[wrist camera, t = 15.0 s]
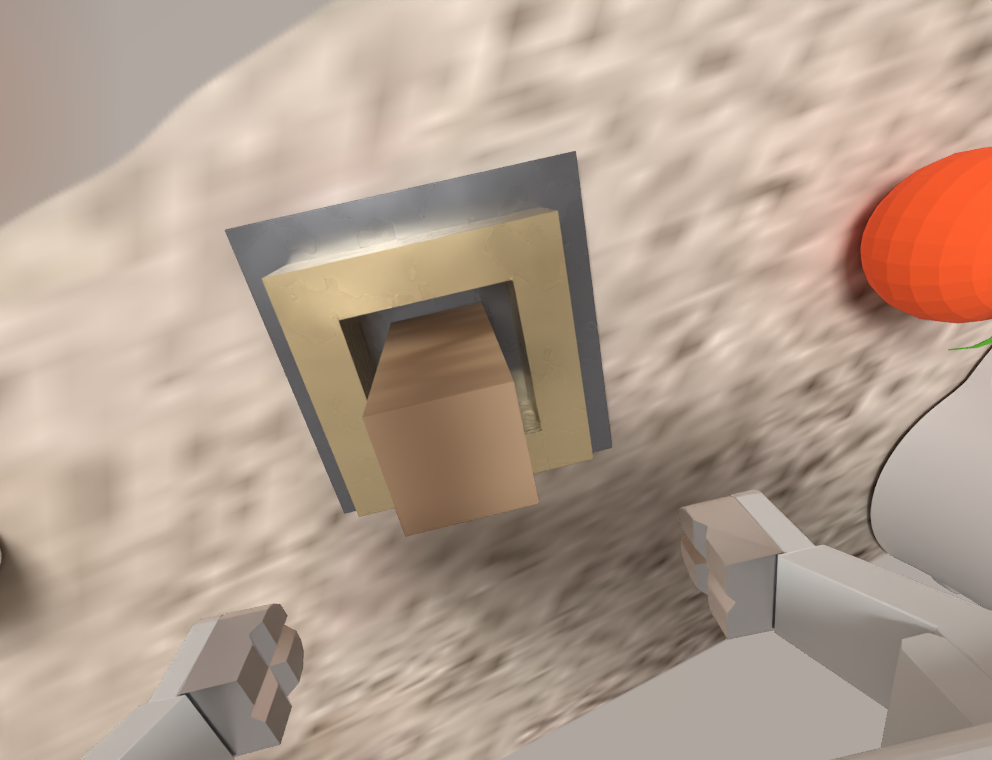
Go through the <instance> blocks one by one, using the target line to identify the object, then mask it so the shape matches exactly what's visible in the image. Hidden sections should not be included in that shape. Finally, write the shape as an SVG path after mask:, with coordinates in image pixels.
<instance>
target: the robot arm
mask: <svg viewBox="0 0 992 760" xmlns="http://www.w3.org/2000/svg"><path fill="white" fill-rule="evenodd" d="M678 515H679V524H680V526H681V527H682V529H683V530H684V532H685V534H684V536H683V537H682V539H681V540H680V544H681V553H682V557H683V560H684V563H685V567H686V569H687V571H688V574H689V576H690V578H691V580H692V581H693V583H694V585H695V587H696V588H697V589H698V590H700V591H702V592H703V593H705V594H707V595H708V606H709V610H710V611H711V613H712V615H713V616H714V618H715V620H716V621H717V623H718V624H719V626H720V628H721V629H722V631H723V633H724V634H725V636H726V637H727V639H732V638H737V637H742V636H747V635H752V634H757V633H762V632H767V631H771V630H775V633H776V634H778V635H779V636H781V637H782V638H784V639H785V640H786V641H788V642H789V643H791V644H792V645H794V646H795V647H797V648H798V649H800V650H801V651H803V652H804V653H806V654H807V655H809V656H810V657H811V658H813V659H815V660H816V661H817V662H819V663H820V664H822V665H823V666H825V667H826V668H828V669H829V670H831V671H832V672H834V673H835V674H837V675H838V676H840V677H841V678H842V679H844V680H845V681H847V682H848V683H850V684H851V685H853V686H854V687H856V688H857V689H859V690H860V691H862V692H863V693H865V694H866V695H868V696H869V697H871V698H872V699H873V700H875V701H876V702H878V703H879V704H881V705H882V706H884V707H885V708H887V709H888V712H887V718H886V723H885V728H884V734H883V738H882V743H881V748H878V749H874V750H870V751H866V752H861V753H857V754H853V755H849V756H845V757H840V758H836V759H832V760H992V349H991V350H990V351H989V353H988V354H987V355H986V356H985V357H984V359H983V360H982V361H981V363H980V364H979V365H978V366H977V368H976V369H975V370H974V372H973V373H972V374H971V376H970V377H969V378H968V380H967V381H966V382H965V383H964V384H963V385H961V386H960V387H959V388H958V389H957V390H956V391H955V392H953V393H952V394H951V395H949V396H948V397H947V398H946V399H944V400H943V401H942V402H941V403H939V404H938V405H937V406H935V407H934V408H933V409H932V410H931V411H930V412H928V413H927V414H926V415H925V416H924V417H923V418H922V419H921V420H920V421H919V422H918V423H917V424H916V425H915V426H914V427H913V428H912V429H911V430H910V431H909V432H908V434H907V435H906V436H905V437H904V438H903V440H902V441H901V442H900V443H899V445H898V446H897V447H896V449H895V450H894V452H893V453H892V455H891V456H890V458H889V459H888V461H887V463H886V465H885V466H884V468H883V470H882V473H881V475H880V477H879V479H878V482H877V484H876V487H875V491H874V494H873V499H872V504H871V524H872V529H873V532H874V535H875V537H876V539H877V541H878V543H879V544H880V545H881V547H882V548H883V549H884V550H885V551H886V552H887V553H889V554H890V555H892V556H893V557H895V558H897V559H899V560H901V561H903V562H905V563H907V564H909V565H911V566H913V567H915V568H917V569H919V570H921V571H923V572H925V573H927V574H928V575H930V576H931V577H932V578H933V579H934V580H935V581H936V582H937V583H939V584H940V585H942V586H944V587H945V588H947V589H948V590H950V591H951V592H953V593H956V594H962V595H964V596H966V597H967V598H969V599H971V600H972V601H974V602H975V603H977V604H978V605H980V606H982V607H980V606H978V605H975V604H972V603H970V602H967V601H965V600H963V599H960V598H958V597H955V596H952V595H950V594H947V593H945V592H942V591H940V590H937V589H935V588H932V587H930V586H927V585H925V584H922V583H920V582H917V581H914V580H912V579H910V578H907V577H904V576H902V575H900V574H897V573H894V572H892V571H889V570H887V569H884V568H882V567H879V566H877V565H874V564H872V563H869V562H867V561H864V560H862V559H859V558H857V557H854V556H852V555H849V554H847V553H844V552H842V551H839V550H836V549H834V548H831V547H829V546H826V545H819V546H815V545H814V544H813V543H812V542H811V541H810V540H809V539H808V538H807V537H806V536H805V535H804V534H803V533H802V532H801V531H800V530H799V529H798V528H797V527H796V526H795V525H794V524H793V523H792V522H791V521H790V520H789V519H788V518H787V517H786V516H785V515H784V514H783V513H782V512H781V511H779V510H778V509H777V508H776V507H775V506H774V505H773V504H772V503H771V502H770V501H769V500H768V499H767V498H766V497H765V496H764V495H763V494H762V493H761V492H760V491H758V490H756V489H752V490H748V491H744V492H740V493H736V494H732V495H729V496H725V497H721V498H717V499H713V500H709V501H705V502H701V503H696V504H692V505H688V506H684V507H680V509H679V513H678ZM287 616H288V615H287V614H286V612H285V611H284V609H283V608H282V606H281V604H269V605H264V606H259V607H255V608H250V609H245V610H240V611H235V612H231V613H226V614H224V615H219V616H214V617H209V618H204V619H201V620H200V621H198V622H197V623H196V624H194V625H193V627H192V628H191V630H190V632H189V633H188V635H187V637H186V639H185V640H184V642H183V644H182V645H181V647H180V649H179V651H178V652H177V654H176V656H175V658H174V659H173V661H172V663H171V664H170V666H169V668H168V670H167V671H166V673H165V675H164V676H163V678H162V680H161V682H160V683H159V685H158V687H157V689H156V690H155V692H154V694H153V695H152V697H151V699H150V701H149V702H148V703H147V704H143V705H139V706H138V707H137V708H136V709H135V710H134V711H133V712H132V713H131V714H130V715H128V716H127V717H126V718H125V719H124V720H123V721H122V722H121V723H120V724H119V725H117V726H116V727H115V728H114V729H113V730H112V731H111V732H110V733H109V734H108V735H106V736H105V737H104V738H103V739H102V740H101V741H100V742H99V743H98V744H97V745H96V746H94V747H93V748H92V749H91V750H90V751H89V752H88V753H87V754H86V755H85V756H83V757H82V758H81V759H80V760H235V759H234V757H236V756H239V755H243V754H247V753H251V752H254V751H258V750H262V749H266V748H269V747H273V746H277V745H280V744H281V741H282V737H283V734H284V731H285V728H286V724H287V721H288V718H289V714H290V711H291V708H292V705H291V703H290V701H289V698H288V695H289V694H290V693H291V692H292V690H293V689H294V688H295V687H296V686H297V684H298V683H299V681H300V677H301V674H302V670H303V659H304V650H303V646H302V642H301V639H300V637H299V635H298V633H297V631H295V630H293V629H292V628H290V627H288V626H286V625H284V624H285V622H286V619H287Z"/></svg>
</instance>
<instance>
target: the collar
mask: <svg viewBox="0 0 992 760" xmlns="http://www.w3.org/2000/svg"><path fill="white" fill-rule="evenodd" d="M225 232H226V234H227V237H228V239H229V242H230V244H231V246H232V249H233V251H234V253H235V256H236V258H237V260H238V263H239V265H240V268H241V270H242V272H243V275H244V277H245V279H246V282H247V284H248V286H249V289H250V291H251V294H252V296H253V298H254V301H255V303H256V305H257V308H258V310H259V313H260V315H261V317H262V320H263V322H264V324H265V327H266V329H267V331H268V334H269V336H270V339H271V341H272V343H273V346H274V348H275V350H276V353H277V355H278V357H279V360H280V362H281V365H282V367H283V369H284V372H285V374H286V376H287V379H288V381H289V384H290V386H291V388H292V391H293V393H294V395H295V398H296V400H297V402H298V405H299V407H300V410H301V412H302V414H303V417H304V419H305V421H306V424H307V426H308V428H309V431H310V433H311V436H312V438H313V440H314V443H315V445H316V447H317V450H318V452H319V454H320V457H321V459H322V462H323V464H324V466H325V469H326V471H327V473H328V476H329V478H330V481H331V483H332V485H333V488H334V490H335V492H336V495H337V497H338V499H339V502H340V504H341V507H342V509H343V511H344V514H345V513H349V512H353V511H357V513H358V516H359V517H360V516H364V515H368V514H372V513H376V512H380V511H384V510H388V509H392V508H395V507H394V504H393V501H392V498H391V496H390V493H389V490H388V487H387V485H386V482H385V479H384V476H383V474H382V471H381V468H380V465H379V463H378V460H377V457H376V454H375V452H374V449H373V446H372V443H371V441H370V438H369V435H368V432H367V430H366V427H365V424H364V421H363V419H362V416H363V413H364V410H365V407H366V403H367V400H368V397H369V394H370V390H371V387H372V384H373V380H374V377H375V374H376V371H377V367H378V364H379V361H380V358H381V354H382V351H383V348H384V344H385V341H386V338H387V335H388V331H389V328H390V325H391V323H392V322H396V321H401V320H405V319H409V318H413V317H418V316H422V315H426V314H431V313H435V312H439V311H444V310H448V309H452V308H456V307H461V306H465V305H469V304H474V303H478V302H482V305H483V307H484V309H485V312H486V314H487V317H488V319H489V322H490V324H491V327H492V329H493V331H494V334H495V336H496V339H497V341H498V344H499V346H500V349H501V351H502V353H503V356H504V358H505V361H506V363H507V366H508V368H509V371H510V373H511V375H512V378H513V380H514V384H515V389H516V394H517V399H518V404H519V408H520V413H521V418H522V423H523V428H524V433H525V437H526V442H527V447H528V452H529V457H530V462H531V466H532V471H533V474H534V473H538V472H542V471H546V470H550V469H554V468H558V467H562V466H566V465H570V464H574V463H578V462H582V461H587V460H591V459H593V453H592V452H596V451H600V450H604V449H608V448H612V443H611V435H610V427H609V419H608V411H607V402H606V394H605V386H604V378H603V370H602V362H601V353H600V345H599V337H598V329H597V321H596V313H595V304H594V296H593V288H592V280H591V272H590V264H589V255H588V247H587V239H586V231H585V223H584V214H583V206H582V198H581V190H580V182H579V174H578V165H577V157H576V151H573V152H569V153H564V154H560V155H556V156H551V157H547V158H542V159H538V160H533V161H529V162H524V163H520V164H516V165H511V166H507V167H502V168H498V169H493V170H489V171H484V172H480V173H475V174H471V175H467V176H462V177H458V178H453V179H449V180H444V181H440V182H435V183H431V184H427V185H422V186H418V187H413V188H409V189H404V190H400V191H395V192H391V193H386V194H382V195H378V196H373V197H369V198H364V199H360V200H355V201H351V202H346V203H342V204H338V205H333V206H329V207H324V208H320V209H315V210H311V211H306V212H302V213H298V214H293V215H289V216H284V217H280V218H275V219H271V220H266V221H262V222H257V223H253V224H249V225H244V226H240V227H235V228H231V229H226V230H225Z"/></svg>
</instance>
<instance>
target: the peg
mask: <svg viewBox="0 0 992 760" xmlns="http://www.w3.org/2000/svg"><path fill="white" fill-rule="evenodd" d="M362 419H363V421H364V424H365V427H366V430H367V432H368V435H369V438H370V441H371V443H372V446H373V449H374V452H375V454H376V457H377V460H378V463H379V465H380V468H381V471H382V474H383V476H384V479H385V482H386V485H387V487H388V490H389V493H390V496H391V498H392V501H393V504H394V507H395V509H396V512H397V515H398V517H399V520H400V523H401V526H402V528H403V531H404V534H405V537H406V536H410V535H414V534H418V533H422V532H426V531H430V530H434V529H438V528H442V527H446V526H450V525H454V524H458V523H462V522H466V521H470V520H474V519H478V518H482V517H486V516H490V515H494V514H498V513H503V512H507V511H511V510H515V509H519V508H523V507H527V506H531V505H535V504H539V500H538V495H537V491H536V486H535V481H534V476H533V471H532V466H531V462H530V457H529V452H528V447H527V442H526V437H525V433H524V428H523V423H522V418H521V413H520V408H519V404H518V399H517V394H516V389H515V384H514V380H513V378H512V375H511V373H510V371H509V368H508V366H507V363H506V361H505V358H504V356H503V353H502V351H501V349H500V346H499V344H498V341H497V339H496V336H495V334H494V331H493V329H492V327H491V324H490V322H489V319H488V317H487V314H486V312H485V309H484V307H483V305H482V302H478V303H474V304H469V305H465V306H461V307H456V308H452V309H448V310H444V311H439V312H435V313H431V314H426V315H422V316H418V317H413V318H409V319H405V320H401V321H396V322H392V323H391V325H390V328H389V331H388V335H387V338H386V341H385V344H384V348H383V351H382V354H381V358H380V361H379V364H378V367H377V371H376V374H375V377H374V380H373V384H372V387H371V390H370V394H369V397H368V400H367V403H366V407H365V410H364V413H363V416H362Z"/></svg>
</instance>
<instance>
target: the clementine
mask: <svg viewBox="0 0 992 760" xmlns="http://www.w3.org/2000/svg"><path fill="white" fill-rule="evenodd" d="M860 249H861V262H862V266H863V271H864V273H865V276H866V278H867V281H868V283H869V285H870V286H871V287H872V288H873V289H874V290H875V291H876V292H877V293H878V294H879V295H880V296H881V297H882V298H883V299H884V300H885V301H886V303H887V304H889V305H891V306H893V307H895V308H897V309H899V310H901V311H903V312H905V313H908V314H910V315H912V316H914V317H917V318H919V319H926V320H933V321H941V322H950V323H966V322H975V321H984V320H989V319H992V147H987V148H980V149H975V150H970V151H964V152H959V153H955V154H952V155H950V156H948V157H945V158H943V159H941V160H939V161H936V162H934V163H932V164H930V165H928V166H926V167H924V168H921V169H919V170H917V171H915V172H914V173H913V174H911V175H910V176H909V177H907V178H906V179H904V180H903V181H902V182H900V183H899V184H898V185H897V186H896V187H895V188H894V189H893V190H892V191H891V192H890V193H889V194H888V195H887V196H886V197H885V198H884V199H883V200H882V201H881V202H880V203H879V204H878V206H877V207H876V209H875V210H874V212H873V214H872V215H871V217H870V218H869V220H868V223H867V225H866V228H865V230H864V233H863V236H862V242H861V248H860ZM990 343H992V337H990V338H989V339H987V340H985V341H983V342H981V343H979V344H977V345H974V346H972V347H965V348H956V349H948V350H958V349H968V348H978V347H981V346H984V345H987V344H990Z"/></svg>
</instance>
